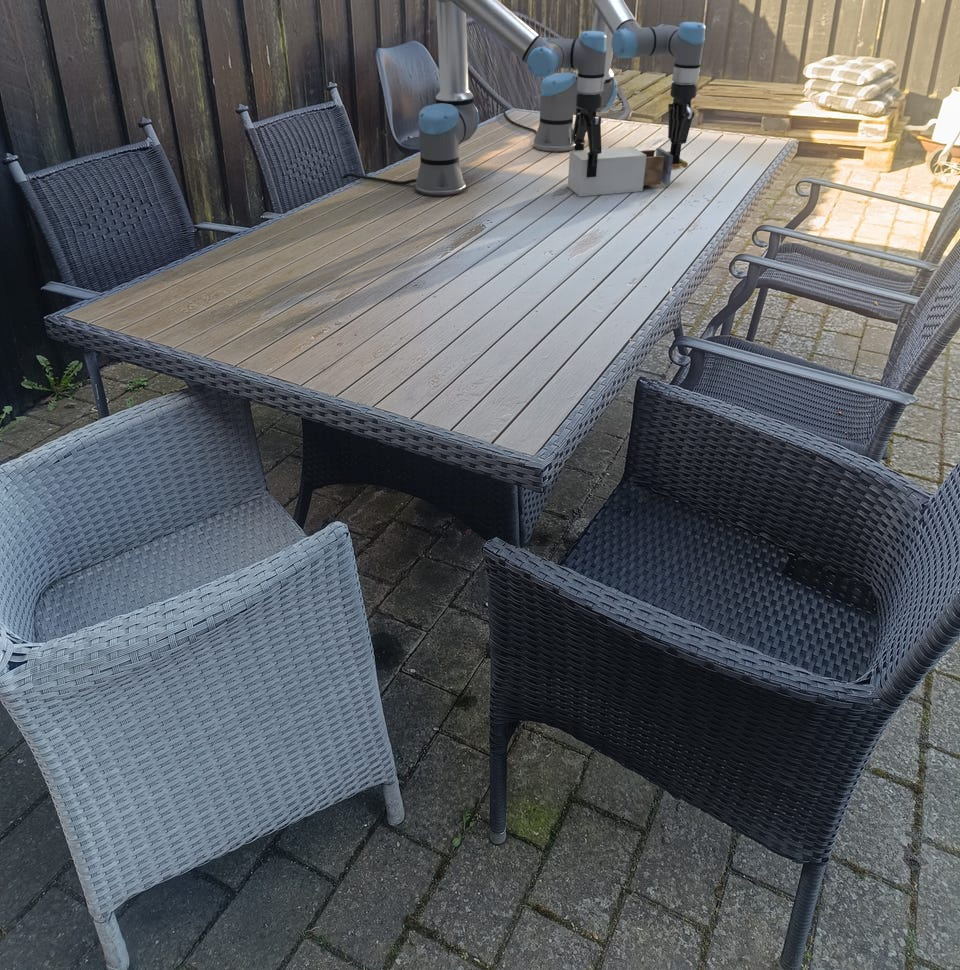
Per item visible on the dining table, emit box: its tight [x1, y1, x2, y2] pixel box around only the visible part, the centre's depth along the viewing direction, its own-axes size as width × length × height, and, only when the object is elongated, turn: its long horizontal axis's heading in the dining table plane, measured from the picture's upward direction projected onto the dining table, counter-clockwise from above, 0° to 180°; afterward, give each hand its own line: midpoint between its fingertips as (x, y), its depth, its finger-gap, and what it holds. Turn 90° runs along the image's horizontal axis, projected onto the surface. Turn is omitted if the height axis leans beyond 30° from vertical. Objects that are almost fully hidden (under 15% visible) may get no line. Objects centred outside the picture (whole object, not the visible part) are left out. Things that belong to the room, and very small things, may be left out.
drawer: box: [640, 147, 689, 186], centre depth 259 cm, size 26×9×9 cm, turn 105°
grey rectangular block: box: [567, 146, 646, 197], centre depth 256 cm, size 20×10×11 cm, turn 105°
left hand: (584, 171), depth 254 cm, fingers closed on grey rectangular block, 10 cm apart
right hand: (673, 165), depth 261 cm, fingers closed
